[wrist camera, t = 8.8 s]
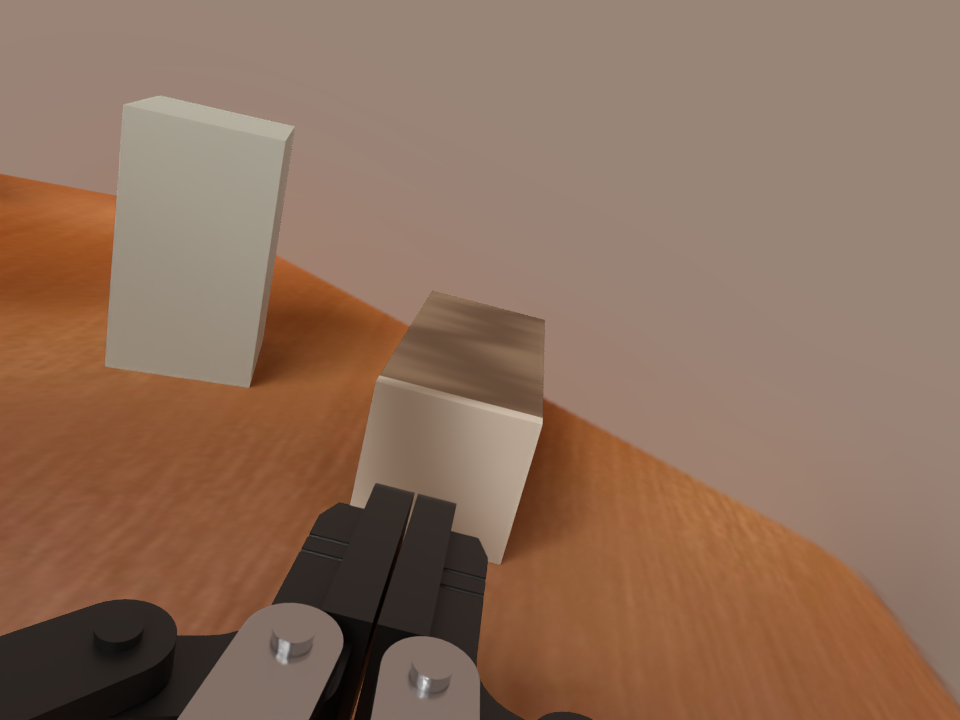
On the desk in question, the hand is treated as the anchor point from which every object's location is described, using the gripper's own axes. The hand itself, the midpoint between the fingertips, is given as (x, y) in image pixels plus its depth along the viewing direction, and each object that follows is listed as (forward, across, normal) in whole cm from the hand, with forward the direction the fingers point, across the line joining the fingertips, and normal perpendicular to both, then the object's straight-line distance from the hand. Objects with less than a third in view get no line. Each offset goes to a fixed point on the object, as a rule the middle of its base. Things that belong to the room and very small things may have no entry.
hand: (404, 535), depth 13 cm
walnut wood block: (+8, 0, +3) cm, 9 cm away
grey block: (+18, +12, +6) cm, 22 cm away
